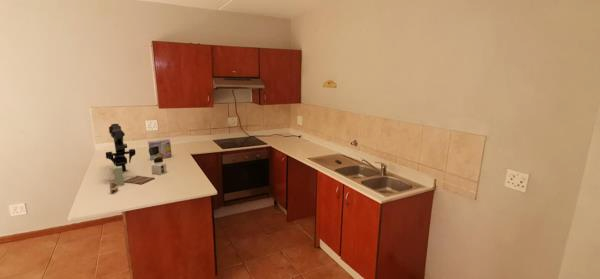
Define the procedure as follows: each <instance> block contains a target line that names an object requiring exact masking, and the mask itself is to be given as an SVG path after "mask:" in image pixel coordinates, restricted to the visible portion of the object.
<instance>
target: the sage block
mask: <svg viewBox="0 0 600 279" xmlns="http://www.w3.org/2000/svg"><path fill="white" fill-rule="evenodd" d="M112 168H113V176H114V182H115V183H116V184H117V186H118V185H120V186H119V187H121V186H125V182H124V181H125V180H124V172H123V171H122V166H117V167H116V166H113V167H112Z"/></svg>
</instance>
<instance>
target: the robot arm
mask: <svg viewBox="0 0 600 279" xmlns="http://www.w3.org/2000/svg"><path fill="white" fill-rule="evenodd" d="M108 132H109V134H110V136H111V138H112V139H113V142H114V143H113V144H114V149H115V150H114V151H115V152H113V151H106V152H105V158H106V159H108V160H110V161H112V164H114V166H115V167H117V166H122V171H123V173H124V172H127V171H128V169H127V167H126V166H127V165H128V163H129V164H131V160H132V158H133V157H134V156H136V149H135V148H131V149H128V150H127V151H126V149H127V148H128V144H127V143H124V137H125V135H126V134H125V132H124V131H123V130H122V126H121V125H119V123H112V124H111V125H110V126H109V127H108ZM126 155H128V158H127V156H126ZM126 164H127V165H126Z"/></svg>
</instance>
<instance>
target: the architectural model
mask: <svg viewBox="0 0 600 279" xmlns="http://www.w3.org/2000/svg"><path fill="white" fill-rule="evenodd" d="M108 184H109V190H110V192H109V193H110V194H112V193H113V192H116V191H118V190H119V188H118V187H121V186H120V185H118V186H117V184H116V183H115V179H114V180H112V181H110V182H109V183H108Z"/></svg>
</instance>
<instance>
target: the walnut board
mask: <svg viewBox="0 0 600 279" xmlns="http://www.w3.org/2000/svg"><path fill="white" fill-rule="evenodd" d="M155 179H156V178H155V177H152V176H150V177H149V176H143V175H136V176H133V177H131V178H128V179H126V180H124V184H125V183H126V184H132V185H133V184H134V185H144V184H147V183H149V182H150V181H153V180H155Z"/></svg>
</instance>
